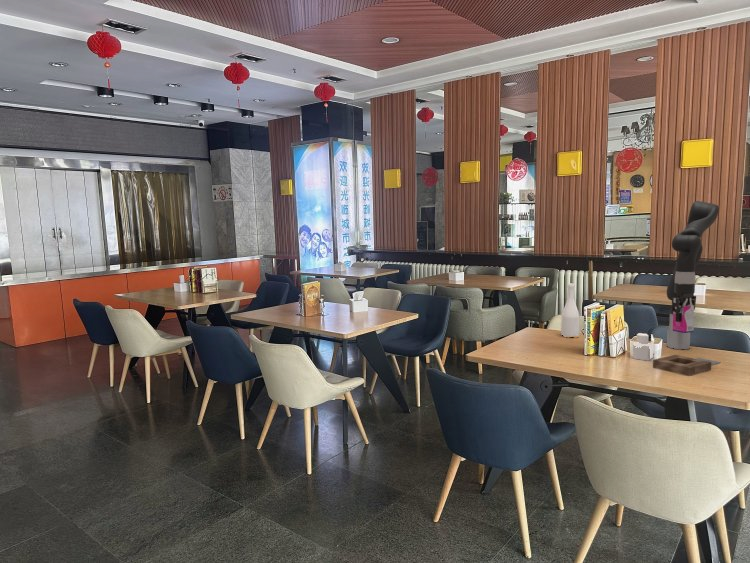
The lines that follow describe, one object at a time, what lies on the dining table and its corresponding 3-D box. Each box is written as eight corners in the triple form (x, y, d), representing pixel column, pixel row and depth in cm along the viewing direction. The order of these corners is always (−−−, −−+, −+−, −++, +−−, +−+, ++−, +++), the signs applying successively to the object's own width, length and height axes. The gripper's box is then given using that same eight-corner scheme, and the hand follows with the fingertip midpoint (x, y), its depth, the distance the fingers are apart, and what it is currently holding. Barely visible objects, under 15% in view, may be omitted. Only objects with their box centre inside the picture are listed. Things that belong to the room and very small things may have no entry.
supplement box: (681, 329, 234) (683, 303, 233) (693, 332, 228) (695, 305, 227) (671, 330, 232) (672, 304, 231) (683, 333, 226) (684, 306, 225)
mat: (685, 361, 243) (685, 360, 243) (698, 358, 248) (698, 357, 248) (708, 366, 234) (708, 365, 234) (720, 363, 239) (720, 362, 239)
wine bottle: (562, 338, 297) (563, 284, 294) (559, 334, 306) (560, 282, 303) (580, 338, 296) (581, 284, 292) (577, 334, 305) (578, 282, 302)
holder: (652, 367, 235) (653, 359, 234) (674, 362, 242) (674, 354, 242) (689, 376, 221) (689, 367, 220) (711, 370, 229) (711, 362, 228)
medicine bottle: (638, 355, 256) (638, 331, 254) (654, 358, 250) (654, 333, 249) (632, 358, 251) (633, 333, 249) (648, 361, 246) (649, 335, 244)
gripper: (686, 280, 234) (684, 317, 236) (666, 282, 227) (664, 321, 229) (703, 281, 228) (701, 320, 230) (683, 284, 221) (681, 324, 223)
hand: (683, 320), depth 230 cm, fingers closed on supplement box, 6 cm apart
